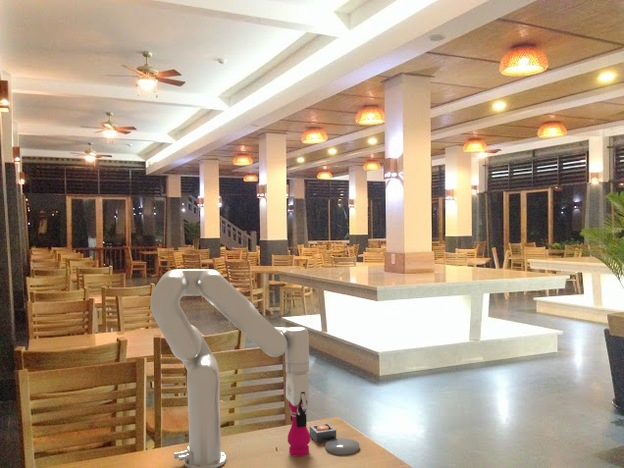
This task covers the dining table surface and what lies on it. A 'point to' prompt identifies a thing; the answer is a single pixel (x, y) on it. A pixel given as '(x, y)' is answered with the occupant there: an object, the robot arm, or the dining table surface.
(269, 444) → the dining table surface
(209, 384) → the robot arm
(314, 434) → the button housing
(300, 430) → the pepper mill
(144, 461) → the dining table surface
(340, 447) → the pad
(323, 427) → the button
